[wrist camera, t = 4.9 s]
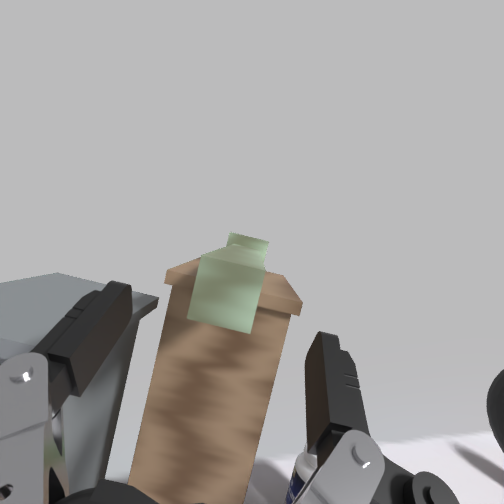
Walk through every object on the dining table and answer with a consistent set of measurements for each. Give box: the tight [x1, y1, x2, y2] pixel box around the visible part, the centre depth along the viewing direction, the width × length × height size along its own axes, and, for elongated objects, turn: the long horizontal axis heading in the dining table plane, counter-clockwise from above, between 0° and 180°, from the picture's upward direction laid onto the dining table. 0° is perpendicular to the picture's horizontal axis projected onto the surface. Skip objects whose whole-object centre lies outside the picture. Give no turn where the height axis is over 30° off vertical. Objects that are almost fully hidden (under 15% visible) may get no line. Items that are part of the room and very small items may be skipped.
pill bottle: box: [285, 442, 317, 504], centre depth 39 cm, size 5×5×10 cm
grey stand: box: [0, 273, 159, 495], centre depth 21 cm, size 10×13×28 cm
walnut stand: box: [127, 257, 303, 504], centre depth 28 cm, size 10×14×32 cm
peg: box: [187, 233, 269, 334], centre depth 22 cm, size 4×22×4 cm, turn 179°
